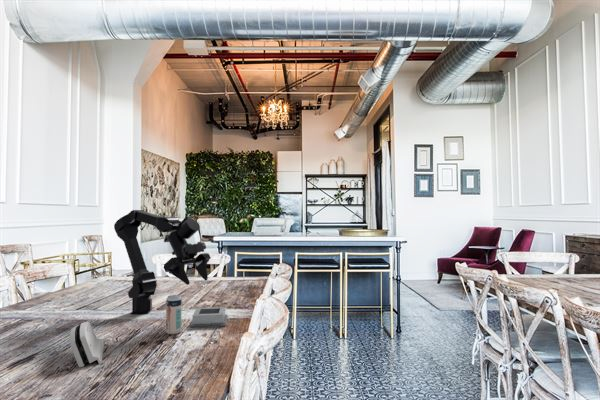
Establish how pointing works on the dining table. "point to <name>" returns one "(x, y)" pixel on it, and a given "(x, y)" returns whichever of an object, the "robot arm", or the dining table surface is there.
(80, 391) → the dining table surface
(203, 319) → the rail block
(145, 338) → the dining table surface
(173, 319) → the labelled cylindrical container
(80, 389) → the dining table surface
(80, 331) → the grey grooved device
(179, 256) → the robot arm
